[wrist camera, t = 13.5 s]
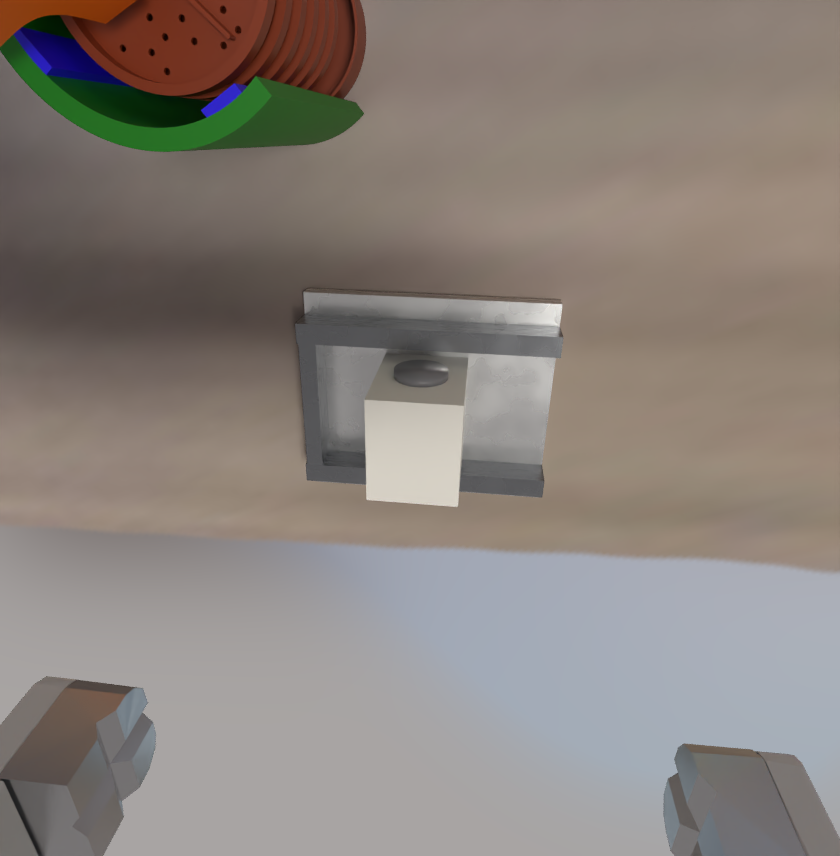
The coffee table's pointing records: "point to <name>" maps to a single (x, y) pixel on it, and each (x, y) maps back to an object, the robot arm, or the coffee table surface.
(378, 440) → the cream rectangular block
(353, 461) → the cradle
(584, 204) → the coffee table surface
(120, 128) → the motor
